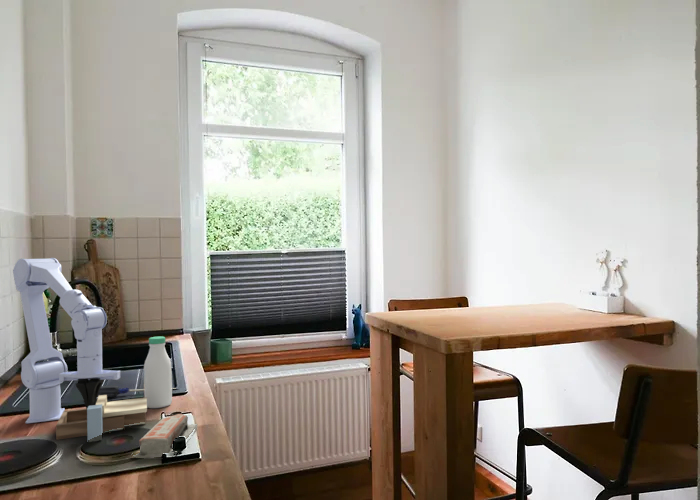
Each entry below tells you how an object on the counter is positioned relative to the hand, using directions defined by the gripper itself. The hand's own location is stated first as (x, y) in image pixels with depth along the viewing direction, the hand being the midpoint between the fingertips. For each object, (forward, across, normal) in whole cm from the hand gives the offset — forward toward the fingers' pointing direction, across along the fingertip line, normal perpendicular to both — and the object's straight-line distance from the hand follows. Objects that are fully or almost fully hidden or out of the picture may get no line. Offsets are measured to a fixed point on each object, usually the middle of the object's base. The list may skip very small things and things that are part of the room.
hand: (90, 407), depth 128 cm
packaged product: (+6, -23, +12) cm, 26 cm away
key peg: (+5, -5, +8) cm, 11 cm away
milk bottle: (+5, -11, -18) cm, 22 cm away
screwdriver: (+6, 0, -30) cm, 31 cm away
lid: (+1, -7, -3) cm, 8 cm away
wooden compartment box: (+5, -3, -2) cm, 6 cm away
